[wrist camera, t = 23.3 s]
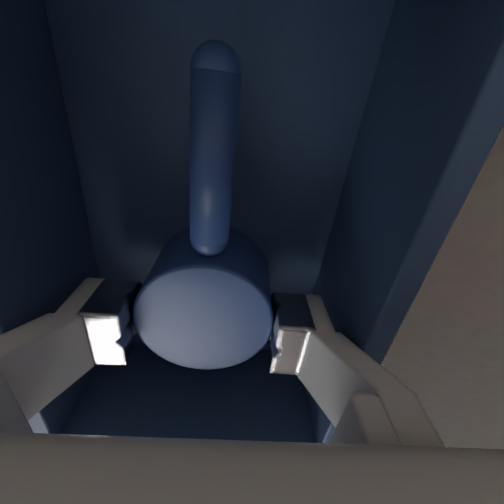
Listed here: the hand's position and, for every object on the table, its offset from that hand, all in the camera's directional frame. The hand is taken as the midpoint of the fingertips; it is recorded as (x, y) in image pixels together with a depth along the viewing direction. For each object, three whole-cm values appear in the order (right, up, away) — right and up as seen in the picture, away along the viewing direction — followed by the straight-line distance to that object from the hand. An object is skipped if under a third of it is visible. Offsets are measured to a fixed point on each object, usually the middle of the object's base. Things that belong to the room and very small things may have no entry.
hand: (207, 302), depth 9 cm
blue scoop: (0, +3, 0) cm, 3 cm away
